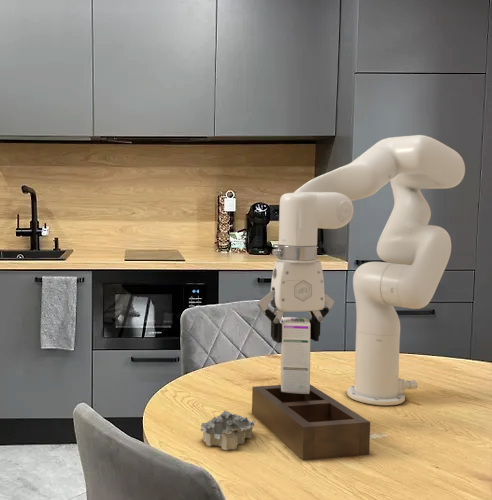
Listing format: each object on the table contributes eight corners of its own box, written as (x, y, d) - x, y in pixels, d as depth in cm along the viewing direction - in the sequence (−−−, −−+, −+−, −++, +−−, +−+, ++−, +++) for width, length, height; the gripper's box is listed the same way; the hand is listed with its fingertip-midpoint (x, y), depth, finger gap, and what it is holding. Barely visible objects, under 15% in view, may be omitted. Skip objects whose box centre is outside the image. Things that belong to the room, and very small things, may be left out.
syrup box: (310, 394, 123) (312, 322, 122) (279, 392, 125) (281, 321, 123) (308, 386, 129) (310, 317, 128) (279, 384, 130) (281, 316, 129)
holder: (307, 410, 135) (308, 383, 134) (369, 454, 112) (370, 422, 111) (251, 413, 132) (252, 386, 132) (302, 460, 109) (303, 427, 108)
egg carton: (231, 453, 112) (231, 431, 111) (196, 443, 116) (196, 422, 116) (258, 435, 120) (259, 415, 120) (225, 426, 125) (225, 406, 124)
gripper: (264, 256, 119) (262, 346, 121) (346, 255, 123) (343, 343, 124) (249, 253, 126) (248, 338, 128) (327, 252, 130) (325, 335, 131)
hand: (295, 340), depth 126 cm, fingers closed on syrup box, 7 cm apart
